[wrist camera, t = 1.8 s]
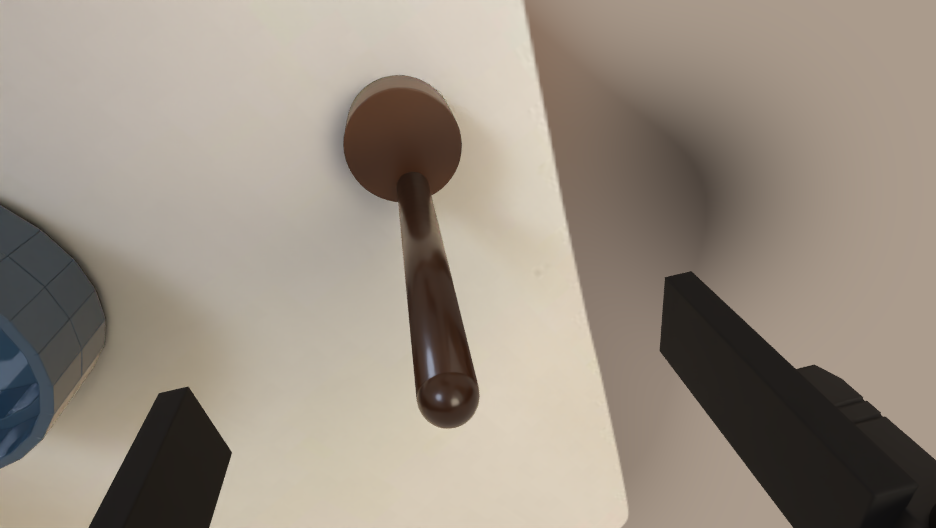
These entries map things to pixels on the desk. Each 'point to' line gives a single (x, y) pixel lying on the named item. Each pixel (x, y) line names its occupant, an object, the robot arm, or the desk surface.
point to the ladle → (418, 229)
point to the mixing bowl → (41, 333)
